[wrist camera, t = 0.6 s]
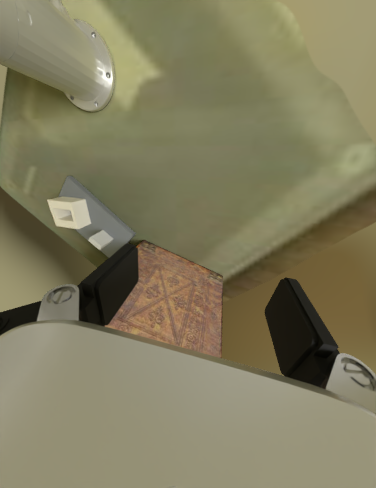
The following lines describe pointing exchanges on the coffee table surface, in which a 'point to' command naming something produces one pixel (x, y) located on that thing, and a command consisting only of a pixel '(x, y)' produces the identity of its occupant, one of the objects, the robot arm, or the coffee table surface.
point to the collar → (62, 211)
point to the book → (173, 302)
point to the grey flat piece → (98, 220)
